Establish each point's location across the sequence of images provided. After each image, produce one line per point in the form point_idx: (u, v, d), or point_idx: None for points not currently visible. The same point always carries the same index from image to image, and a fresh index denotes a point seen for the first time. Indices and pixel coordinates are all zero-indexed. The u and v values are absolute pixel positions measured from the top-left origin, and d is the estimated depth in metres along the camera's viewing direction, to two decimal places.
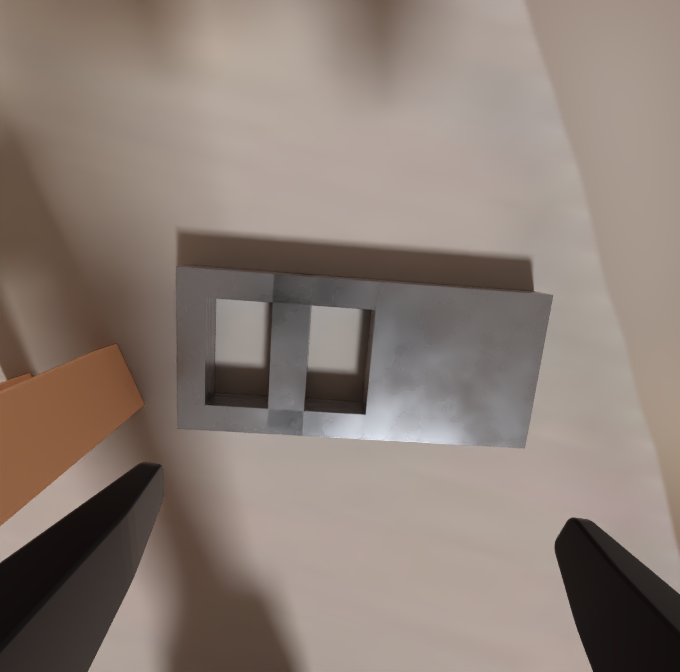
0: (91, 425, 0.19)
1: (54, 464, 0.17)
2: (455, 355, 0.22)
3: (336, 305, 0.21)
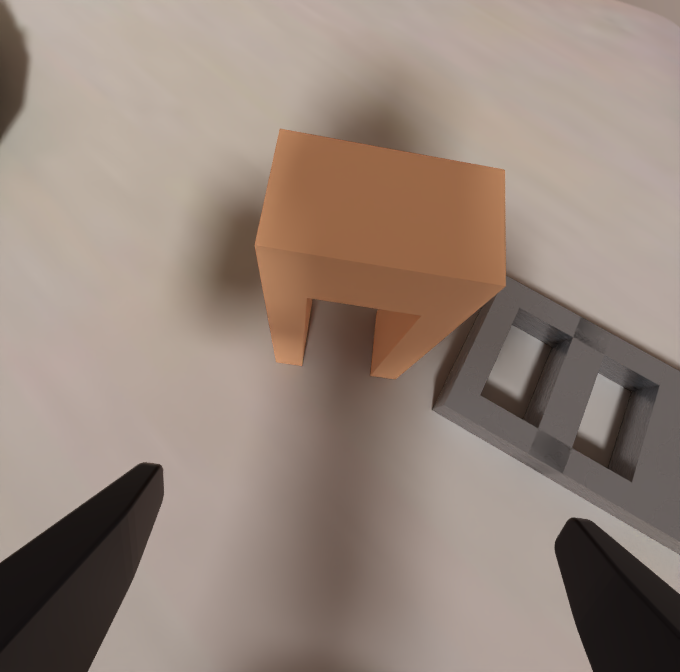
0: None
1: None
2: None
3: (626, 365, 0.23)
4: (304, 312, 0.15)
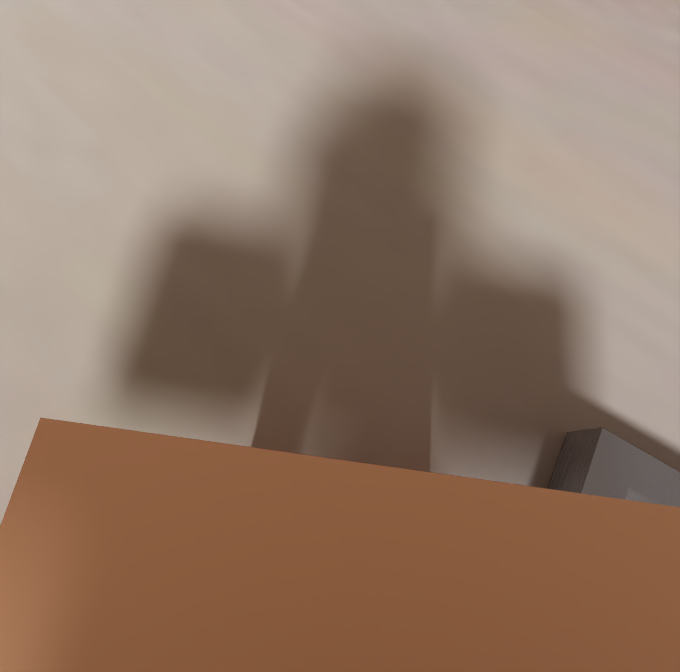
0: None
1: None
2: None
3: None
4: None
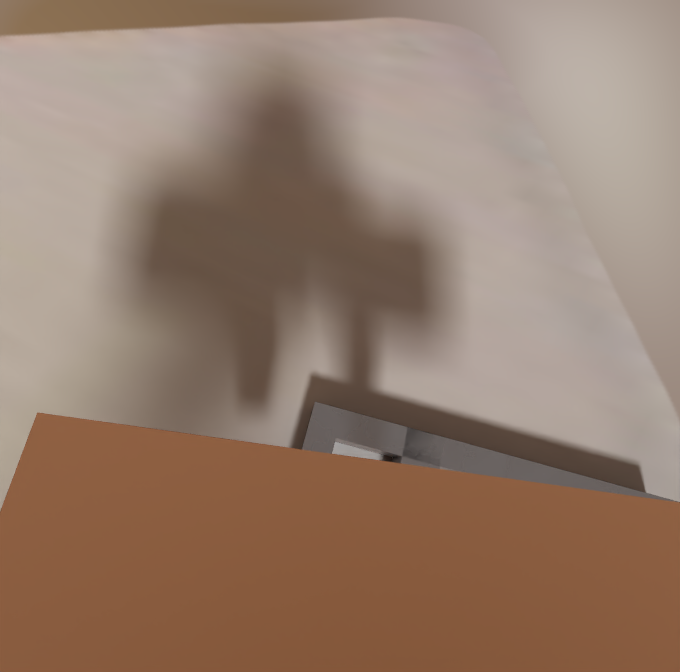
0: None
1: None
2: None
3: (465, 471, 0.21)
4: None
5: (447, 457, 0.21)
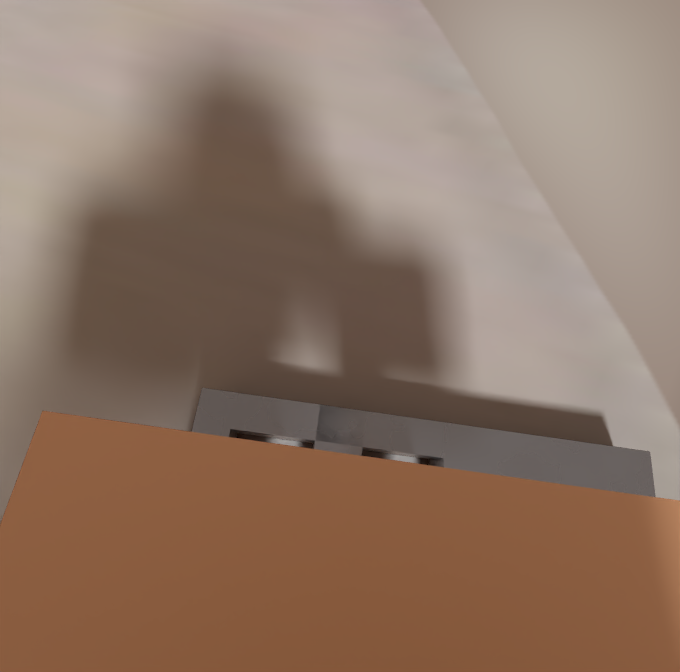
0: None
1: None
2: None
3: (395, 449, 0.17)
4: None
5: (371, 434, 0.17)
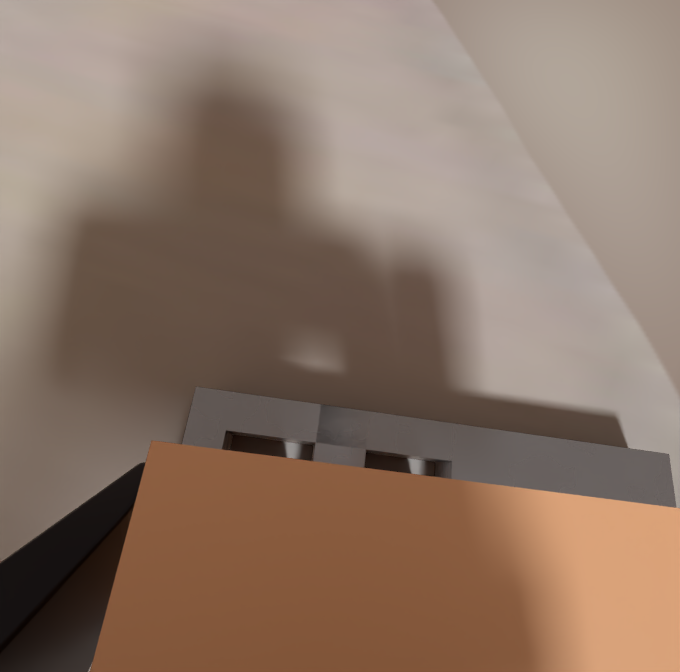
0: None
1: None
2: None
3: (400, 451, 0.16)
4: None
5: (375, 436, 0.16)
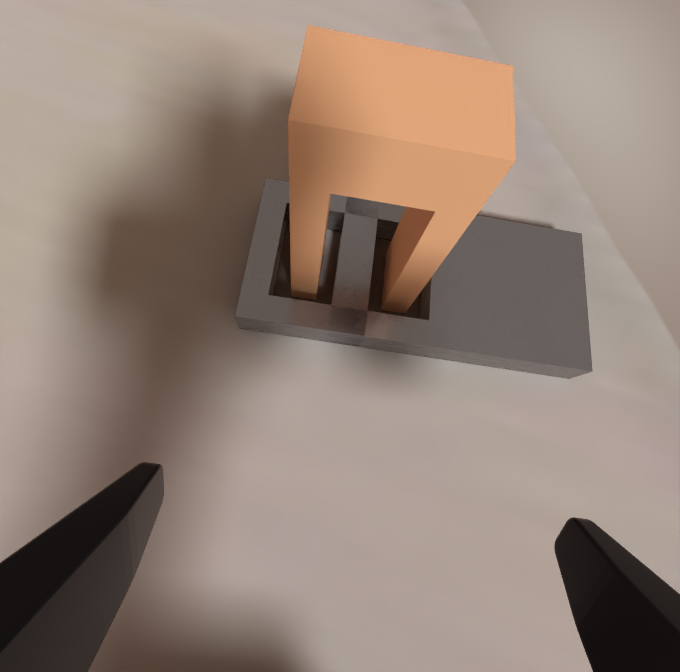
0: None
1: None
2: (508, 273, 0.24)
3: None
4: (325, 215, 0.16)
5: (383, 212, 0.24)
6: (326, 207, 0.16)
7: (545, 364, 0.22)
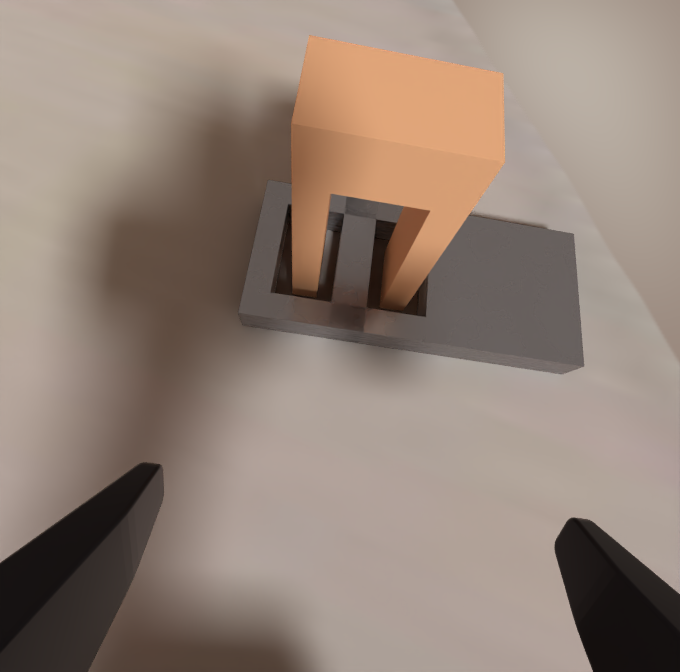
0: None
1: None
2: (503, 271, 0.25)
3: None
4: (326, 215, 0.17)
5: (382, 212, 0.25)
6: (326, 207, 0.16)
7: (538, 359, 0.23)
